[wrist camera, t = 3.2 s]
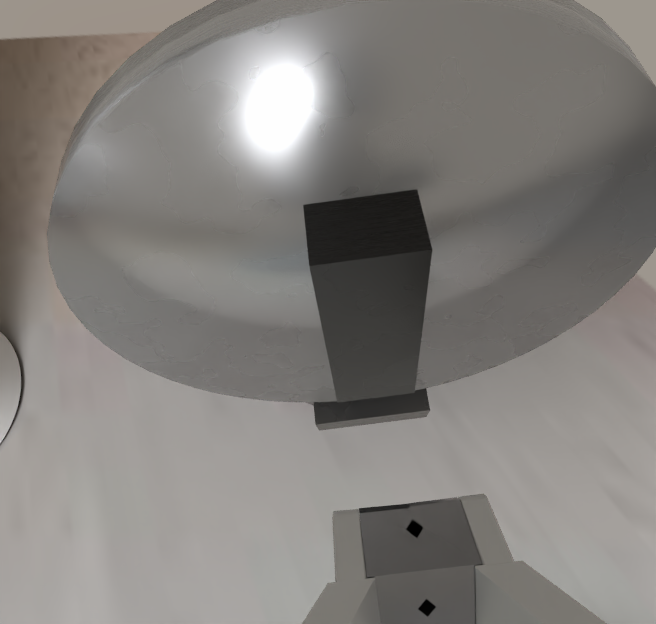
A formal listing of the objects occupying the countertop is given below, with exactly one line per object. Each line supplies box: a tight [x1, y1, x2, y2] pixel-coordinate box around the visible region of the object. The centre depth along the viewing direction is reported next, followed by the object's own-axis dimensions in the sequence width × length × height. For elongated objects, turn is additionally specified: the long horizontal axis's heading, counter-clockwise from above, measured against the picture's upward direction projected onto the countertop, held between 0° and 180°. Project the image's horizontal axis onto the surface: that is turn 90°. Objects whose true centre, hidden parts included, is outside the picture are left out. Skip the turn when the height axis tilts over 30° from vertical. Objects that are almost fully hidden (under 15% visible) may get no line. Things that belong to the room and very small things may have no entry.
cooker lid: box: [47, 0, 656, 403], centre depth 18 cm, size 19×19×4 cm
